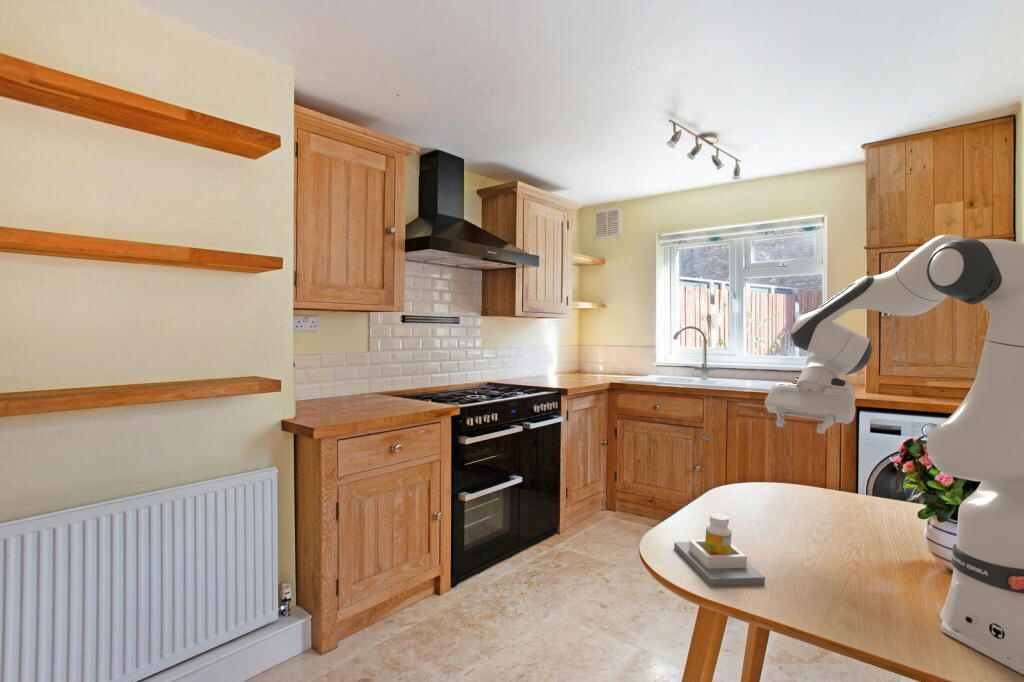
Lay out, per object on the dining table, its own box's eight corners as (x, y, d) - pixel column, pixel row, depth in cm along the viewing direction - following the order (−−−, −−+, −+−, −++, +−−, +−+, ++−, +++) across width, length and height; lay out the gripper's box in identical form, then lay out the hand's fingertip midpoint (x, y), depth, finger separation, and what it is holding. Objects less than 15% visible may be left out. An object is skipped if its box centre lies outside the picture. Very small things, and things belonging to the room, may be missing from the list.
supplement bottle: (699, 555, 122) (701, 513, 121) (717, 552, 124) (719, 510, 123) (717, 565, 117) (719, 522, 116) (735, 562, 119) (737, 519, 118)
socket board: (764, 584, 112) (765, 565, 112) (710, 586, 111) (711, 567, 110) (721, 547, 130) (721, 531, 130) (674, 548, 129) (674, 532, 128)
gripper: (771, 374, 144) (753, 414, 138) (858, 383, 129) (842, 427, 123) (777, 390, 148) (760, 429, 141) (862, 399, 132) (847, 444, 126)
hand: (799, 428), depth 132 cm, fingers open, 8 cm apart
